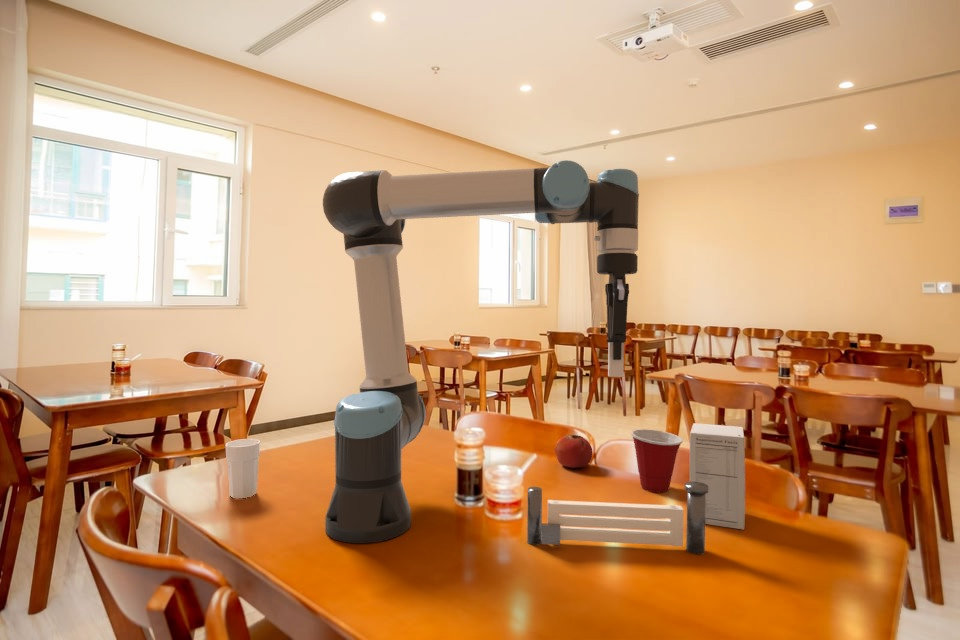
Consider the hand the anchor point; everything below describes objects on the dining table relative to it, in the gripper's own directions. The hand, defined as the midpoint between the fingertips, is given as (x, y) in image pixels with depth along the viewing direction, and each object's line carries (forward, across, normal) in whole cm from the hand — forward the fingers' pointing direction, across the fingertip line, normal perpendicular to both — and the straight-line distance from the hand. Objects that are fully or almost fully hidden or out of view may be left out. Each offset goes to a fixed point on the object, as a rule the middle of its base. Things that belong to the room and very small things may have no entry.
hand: (615, 376), depth 103 cm
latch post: (+26, +16, -14) cm, 34 cm away
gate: (+25, +15, -2) cm, 30 cm away
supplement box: (+27, 0, +19) cm, 33 cm away
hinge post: (+26, +15, +11) cm, 32 cm away
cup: (+27, 0, -76) cm, 81 cm away
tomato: (+27, -29, -6) cm, 40 cm away
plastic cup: (+27, -15, +11) cm, 32 cm away
